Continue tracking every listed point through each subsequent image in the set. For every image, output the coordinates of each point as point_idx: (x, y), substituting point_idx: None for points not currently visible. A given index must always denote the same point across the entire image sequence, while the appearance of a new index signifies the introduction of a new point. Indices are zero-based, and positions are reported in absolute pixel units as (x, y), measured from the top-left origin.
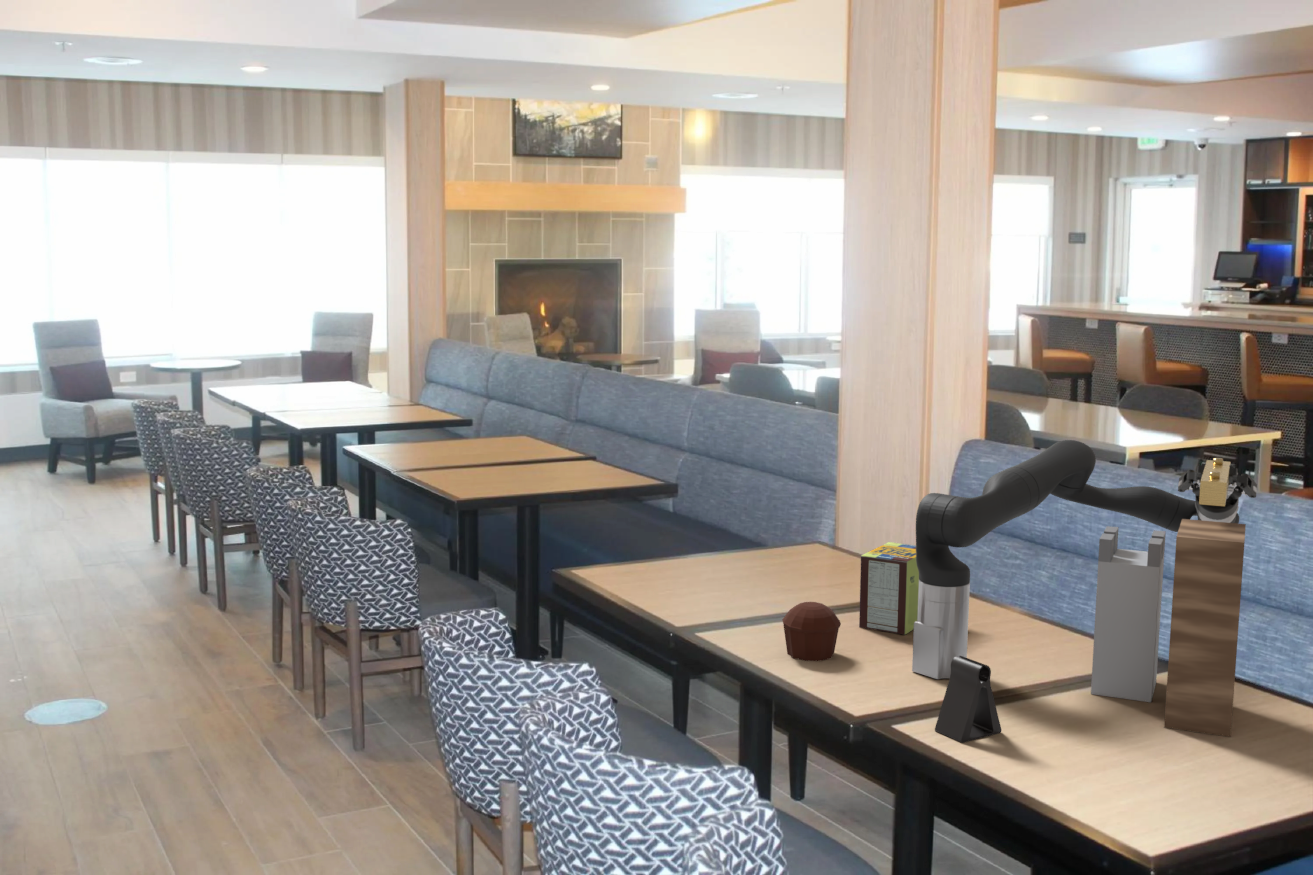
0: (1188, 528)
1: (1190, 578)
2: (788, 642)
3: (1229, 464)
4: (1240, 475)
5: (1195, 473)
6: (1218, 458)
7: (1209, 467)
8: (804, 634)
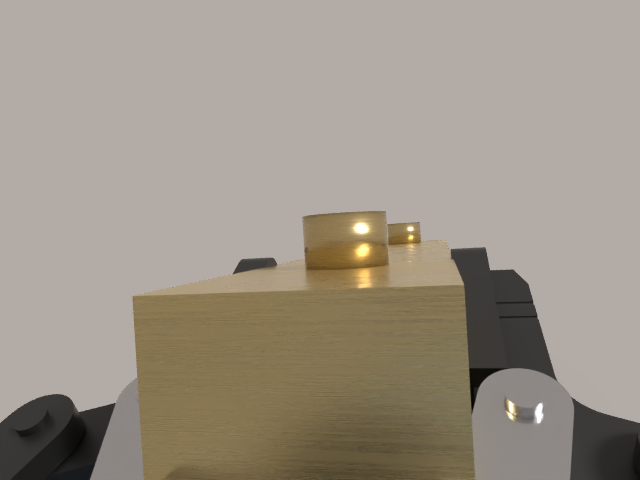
0: None
1: None
2: None
3: (241, 273)
4: (114, 404)
5: (586, 422)
6: (340, 214)
7: (420, 252)
8: None
